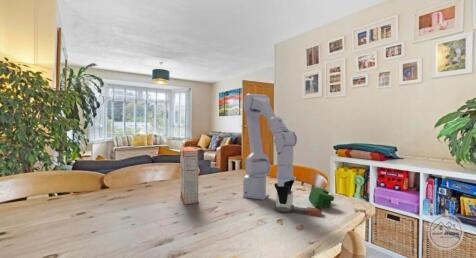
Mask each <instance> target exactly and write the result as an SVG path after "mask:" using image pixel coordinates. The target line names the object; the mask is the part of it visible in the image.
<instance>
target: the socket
mask: <svg viewBox="0 0 476 258" xmlns="http://www.w3.org/2000/svg"><path fill="white" fill-rule="evenodd" d="M293 200H294V191H293V190H291V191H289V192H288V196H287V202H286V204H280V202H279V197H278V193H277V192H276V203H275V204H276V207H282V208H289V209H290V208H291V207H292V205H294V204H293V203H294V201H293Z"/></svg>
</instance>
